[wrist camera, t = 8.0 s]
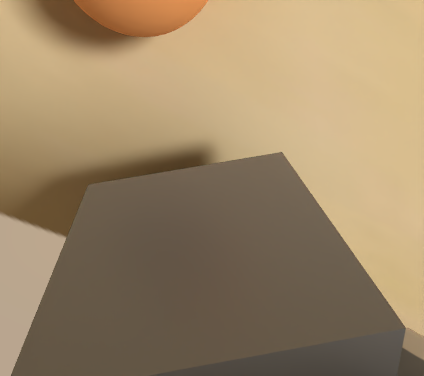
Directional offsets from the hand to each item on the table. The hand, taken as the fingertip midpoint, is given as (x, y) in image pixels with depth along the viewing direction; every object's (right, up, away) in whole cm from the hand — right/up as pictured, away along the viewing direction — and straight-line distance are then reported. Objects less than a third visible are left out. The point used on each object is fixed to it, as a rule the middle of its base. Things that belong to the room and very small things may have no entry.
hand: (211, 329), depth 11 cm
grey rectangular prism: (0, +2, +4) cm, 4 cm away
